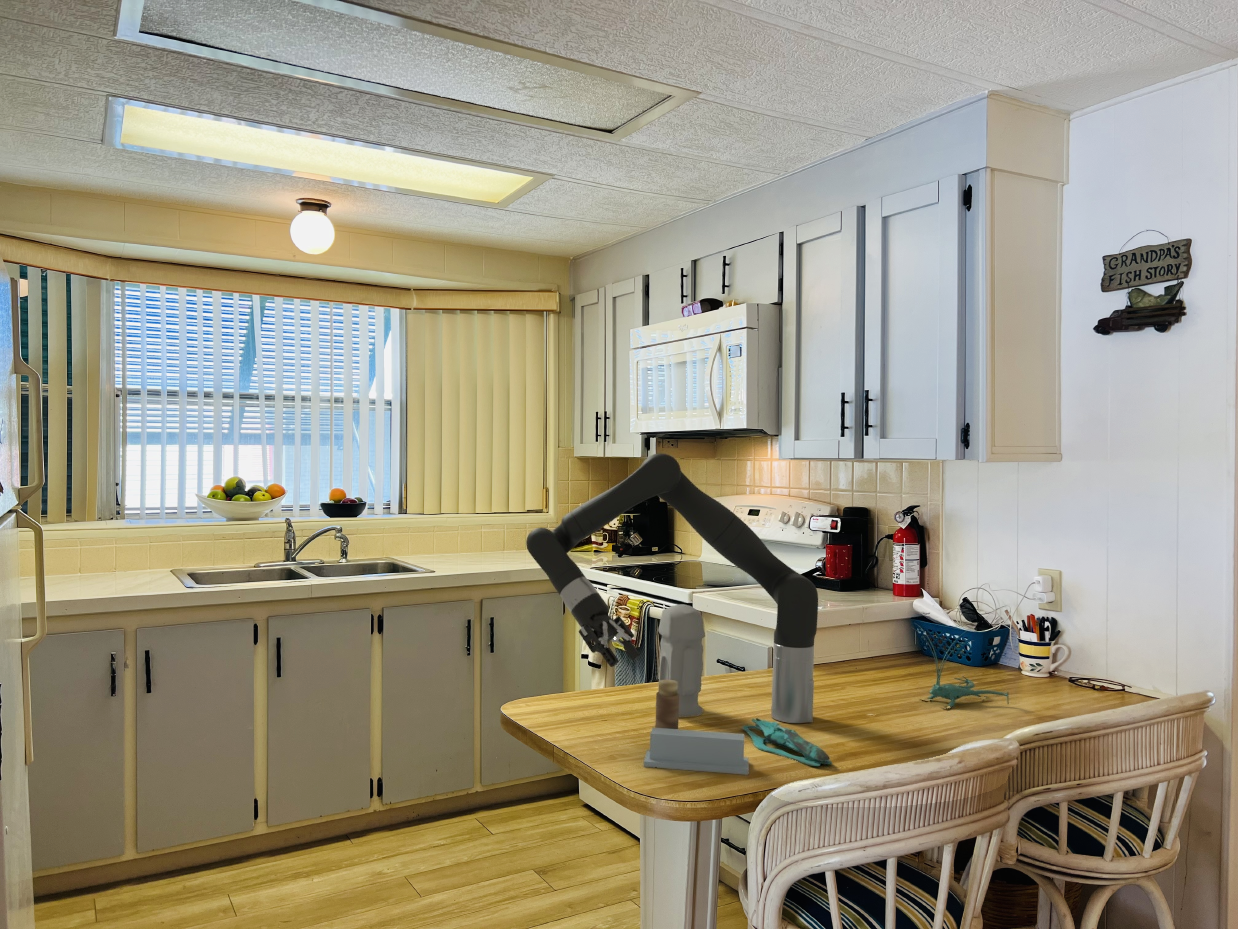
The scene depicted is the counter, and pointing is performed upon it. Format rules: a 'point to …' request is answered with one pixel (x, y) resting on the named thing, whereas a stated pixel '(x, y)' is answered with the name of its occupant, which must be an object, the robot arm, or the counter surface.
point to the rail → (697, 751)
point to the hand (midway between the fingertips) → (626, 661)
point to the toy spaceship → (786, 743)
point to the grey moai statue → (682, 654)
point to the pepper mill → (667, 705)
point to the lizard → (956, 686)
